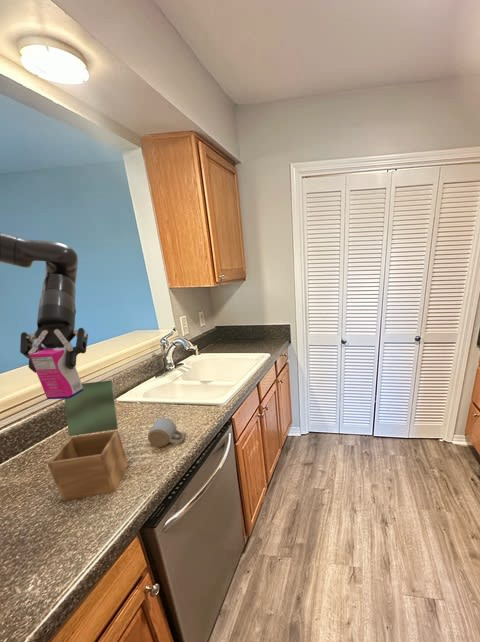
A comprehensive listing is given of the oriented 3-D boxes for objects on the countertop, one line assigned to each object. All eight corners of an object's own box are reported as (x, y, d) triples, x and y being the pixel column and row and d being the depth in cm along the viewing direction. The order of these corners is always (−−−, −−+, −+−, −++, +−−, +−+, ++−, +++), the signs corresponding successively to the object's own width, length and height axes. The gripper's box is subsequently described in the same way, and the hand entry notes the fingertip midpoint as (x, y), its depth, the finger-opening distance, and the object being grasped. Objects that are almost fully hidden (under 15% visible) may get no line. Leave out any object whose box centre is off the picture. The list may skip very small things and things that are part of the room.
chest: (116, 495, 87) (103, 455, 82) (64, 505, 84) (47, 463, 79) (129, 467, 99) (118, 430, 94) (83, 474, 96) (70, 437, 91)
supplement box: (62, 390, 84) (47, 347, 79) (84, 390, 83) (70, 346, 79) (45, 399, 78) (28, 353, 74) (69, 399, 78) (52, 353, 74)
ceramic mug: (149, 449, 108) (144, 429, 105) (156, 437, 116) (152, 418, 113) (181, 447, 109) (177, 426, 106) (186, 435, 116) (183, 416, 114)
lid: (111, 380, 94) (112, 380, 95) (62, 385, 91) (64, 385, 92) (117, 429, 93) (118, 429, 94) (68, 436, 91) (70, 435, 92)
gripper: (15, 304, 78) (6, 365, 72) (81, 300, 80) (78, 358, 75) (34, 323, 84) (28, 380, 79) (94, 319, 87) (92, 373, 81)
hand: (52, 369), depth 77 cm, fingers closed on supplement box, 6 cm apart
